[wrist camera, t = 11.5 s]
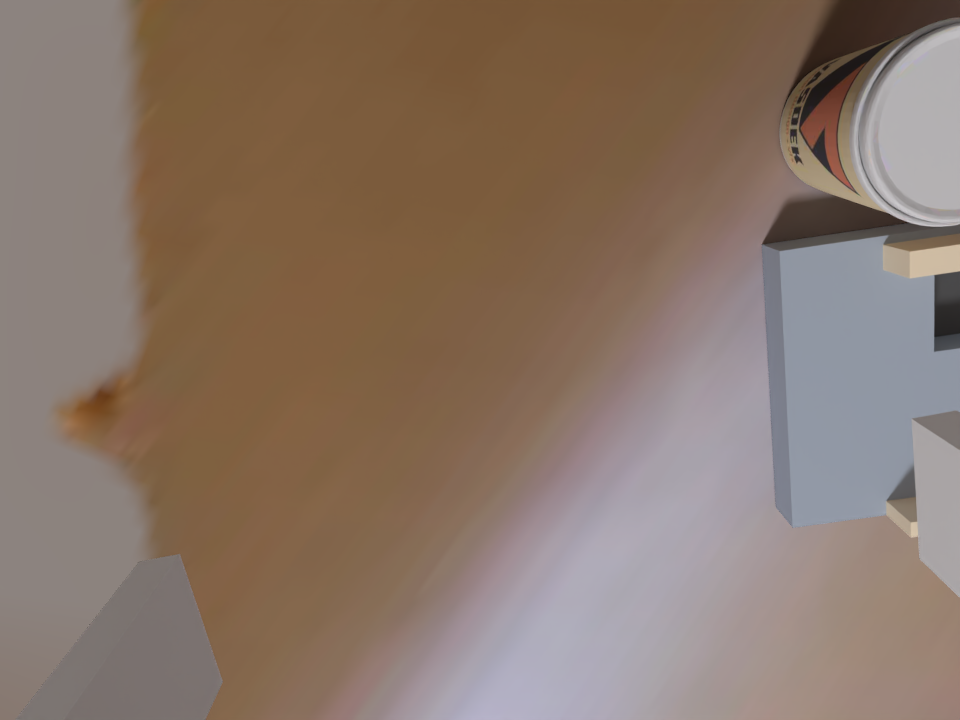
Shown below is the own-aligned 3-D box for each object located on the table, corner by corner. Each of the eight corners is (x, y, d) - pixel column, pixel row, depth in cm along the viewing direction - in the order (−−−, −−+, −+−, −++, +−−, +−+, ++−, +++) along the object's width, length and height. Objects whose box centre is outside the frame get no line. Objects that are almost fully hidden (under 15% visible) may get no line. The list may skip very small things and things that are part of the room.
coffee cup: (792, 25, 47) (903, -9, 35) (943, 62, 47) (1100, 41, 36) (744, 187, 49) (833, 205, 37) (888, 220, 50) (1018, 247, 38)
